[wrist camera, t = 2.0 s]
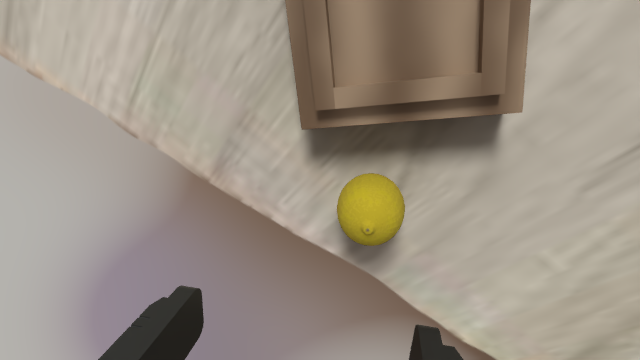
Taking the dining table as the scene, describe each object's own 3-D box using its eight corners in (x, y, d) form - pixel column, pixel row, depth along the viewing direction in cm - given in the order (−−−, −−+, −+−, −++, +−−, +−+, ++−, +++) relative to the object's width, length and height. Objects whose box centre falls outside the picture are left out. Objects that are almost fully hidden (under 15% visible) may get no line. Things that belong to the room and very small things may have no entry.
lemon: (365, 151, 31) (358, 180, 24) (414, 185, 31) (423, 224, 24) (332, 196, 33) (316, 236, 26) (379, 228, 33) (376, 276, 26)
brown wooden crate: (518, -139, 23) (552, -190, 18) (504, 105, 28) (527, 114, 23) (287, -89, 26) (265, -121, 21) (311, 120, 31) (298, 132, 26)
